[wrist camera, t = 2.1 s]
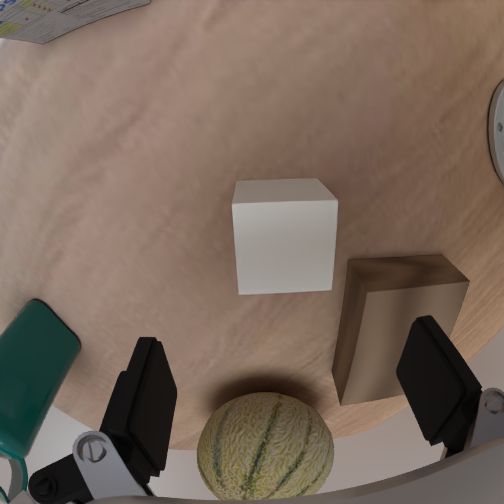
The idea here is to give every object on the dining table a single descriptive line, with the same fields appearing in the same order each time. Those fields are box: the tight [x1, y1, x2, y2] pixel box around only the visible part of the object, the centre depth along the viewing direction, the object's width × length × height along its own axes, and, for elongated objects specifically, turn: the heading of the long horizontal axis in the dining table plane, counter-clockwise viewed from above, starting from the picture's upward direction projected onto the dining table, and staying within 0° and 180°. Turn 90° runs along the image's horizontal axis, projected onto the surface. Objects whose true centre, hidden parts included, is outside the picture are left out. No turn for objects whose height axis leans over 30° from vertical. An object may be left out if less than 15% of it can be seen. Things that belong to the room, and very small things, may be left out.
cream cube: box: [232, 178, 338, 295], centre depth 21 cm, size 6×6×6 cm
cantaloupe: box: [197, 392, 334, 500], centre depth 27 cm, size 15×15×15 cm
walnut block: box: [332, 254, 470, 406], centre depth 25 cm, size 10×14×5 cm
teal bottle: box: [0, 300, 80, 504], centre depth 19 cm, size 10×8×22 cm
